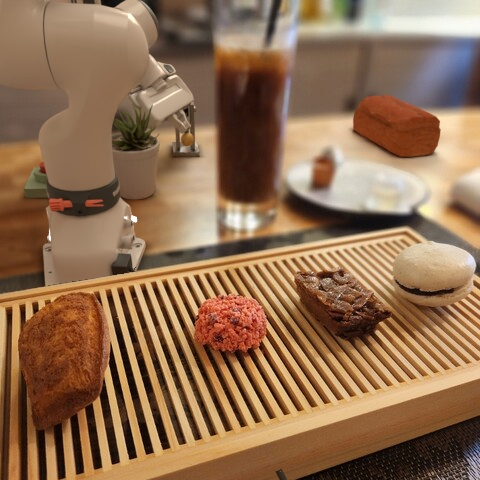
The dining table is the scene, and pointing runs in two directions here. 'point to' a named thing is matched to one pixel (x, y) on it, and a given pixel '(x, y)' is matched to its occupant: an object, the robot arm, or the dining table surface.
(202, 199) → the dining table surface
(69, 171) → the robot arm
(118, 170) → the potted plant
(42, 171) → the lock button
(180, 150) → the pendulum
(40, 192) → the green button base
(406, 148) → the bread
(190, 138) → the lever
